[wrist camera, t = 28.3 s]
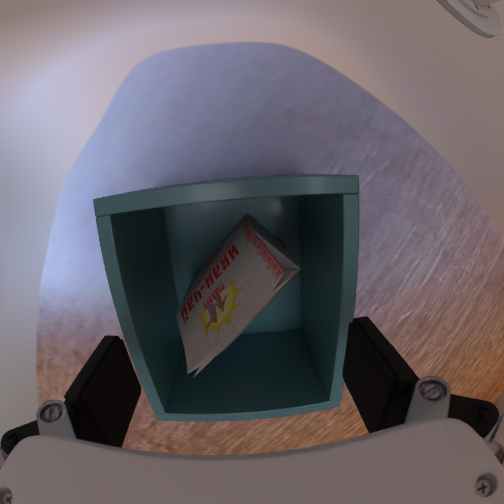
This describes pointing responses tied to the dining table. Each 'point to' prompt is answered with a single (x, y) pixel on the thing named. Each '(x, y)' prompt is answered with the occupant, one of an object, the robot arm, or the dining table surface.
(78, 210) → the dining table surface
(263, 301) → the tea bag
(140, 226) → the waste bin
